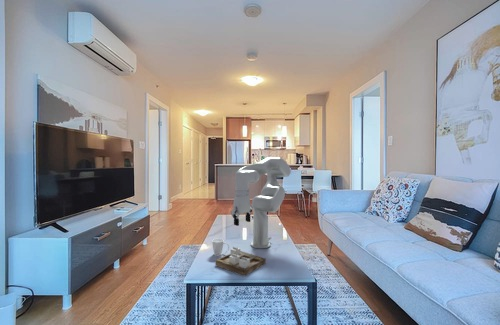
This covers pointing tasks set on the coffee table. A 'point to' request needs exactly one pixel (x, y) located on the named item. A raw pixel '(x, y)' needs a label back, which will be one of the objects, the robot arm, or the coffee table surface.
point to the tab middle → (234, 259)
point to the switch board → (224, 263)
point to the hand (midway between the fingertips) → (242, 223)
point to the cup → (218, 246)
